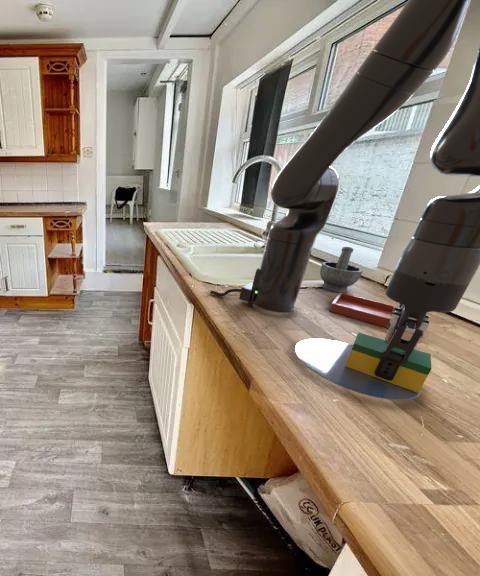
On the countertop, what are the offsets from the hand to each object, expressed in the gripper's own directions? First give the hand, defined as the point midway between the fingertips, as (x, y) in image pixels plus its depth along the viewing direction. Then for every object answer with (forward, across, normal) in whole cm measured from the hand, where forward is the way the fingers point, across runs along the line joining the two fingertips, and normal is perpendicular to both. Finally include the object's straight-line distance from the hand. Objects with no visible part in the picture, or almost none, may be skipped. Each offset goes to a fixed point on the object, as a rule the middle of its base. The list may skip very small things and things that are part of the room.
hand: (384, 368), depth 50 cm
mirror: (+2, +1, -4) cm, 5 cm away
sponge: (+1, 0, 0) cm, 1 cm away
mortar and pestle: (+3, -48, -13) cm, 50 cm away
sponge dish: (+3, -32, -4) cm, 32 cm away
